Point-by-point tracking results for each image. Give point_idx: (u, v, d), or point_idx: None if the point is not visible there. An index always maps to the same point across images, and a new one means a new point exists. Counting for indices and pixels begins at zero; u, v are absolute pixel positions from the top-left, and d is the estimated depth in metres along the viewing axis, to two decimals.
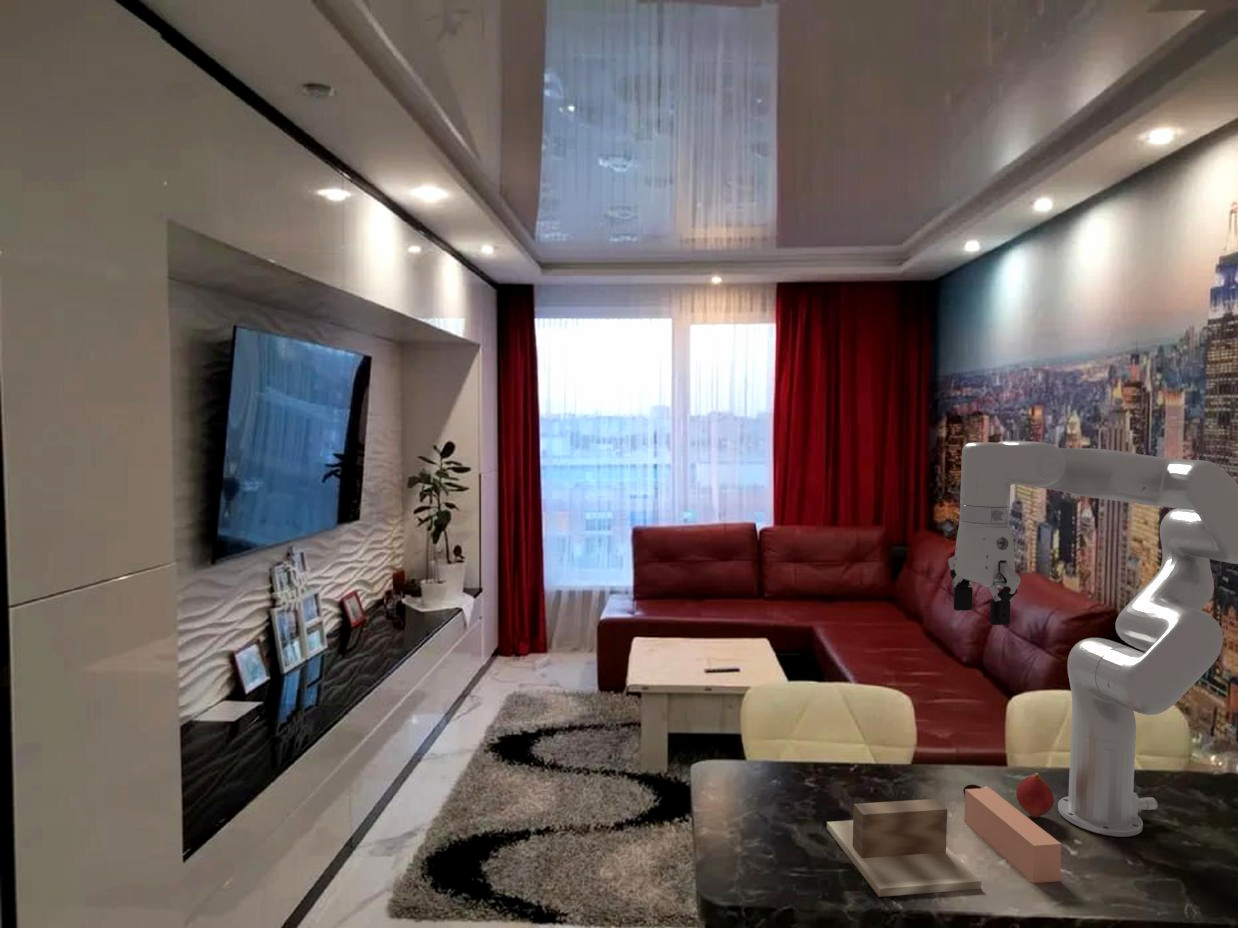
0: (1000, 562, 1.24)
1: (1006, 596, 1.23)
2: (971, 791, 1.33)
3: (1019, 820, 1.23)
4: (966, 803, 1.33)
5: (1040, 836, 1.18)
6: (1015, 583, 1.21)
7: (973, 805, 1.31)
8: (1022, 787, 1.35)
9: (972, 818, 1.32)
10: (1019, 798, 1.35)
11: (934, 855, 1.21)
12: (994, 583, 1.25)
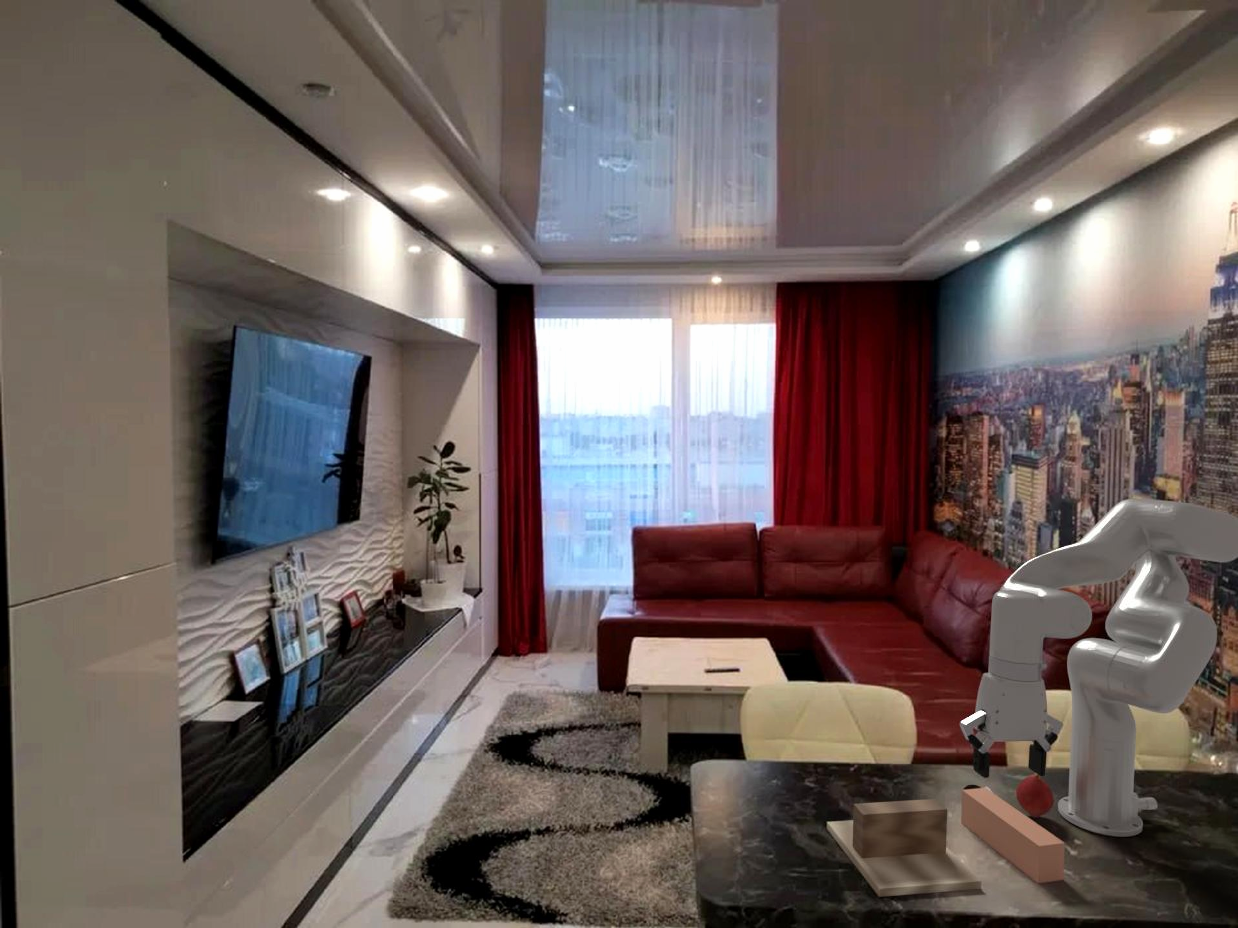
0: None
1: None
2: (968, 792, 1.33)
3: (1019, 820, 1.23)
4: (963, 804, 1.33)
5: (1043, 836, 1.19)
6: None
7: (971, 805, 1.31)
8: (1022, 787, 1.35)
9: (970, 818, 1.31)
10: (1019, 798, 1.35)
11: (934, 855, 1.21)
12: None
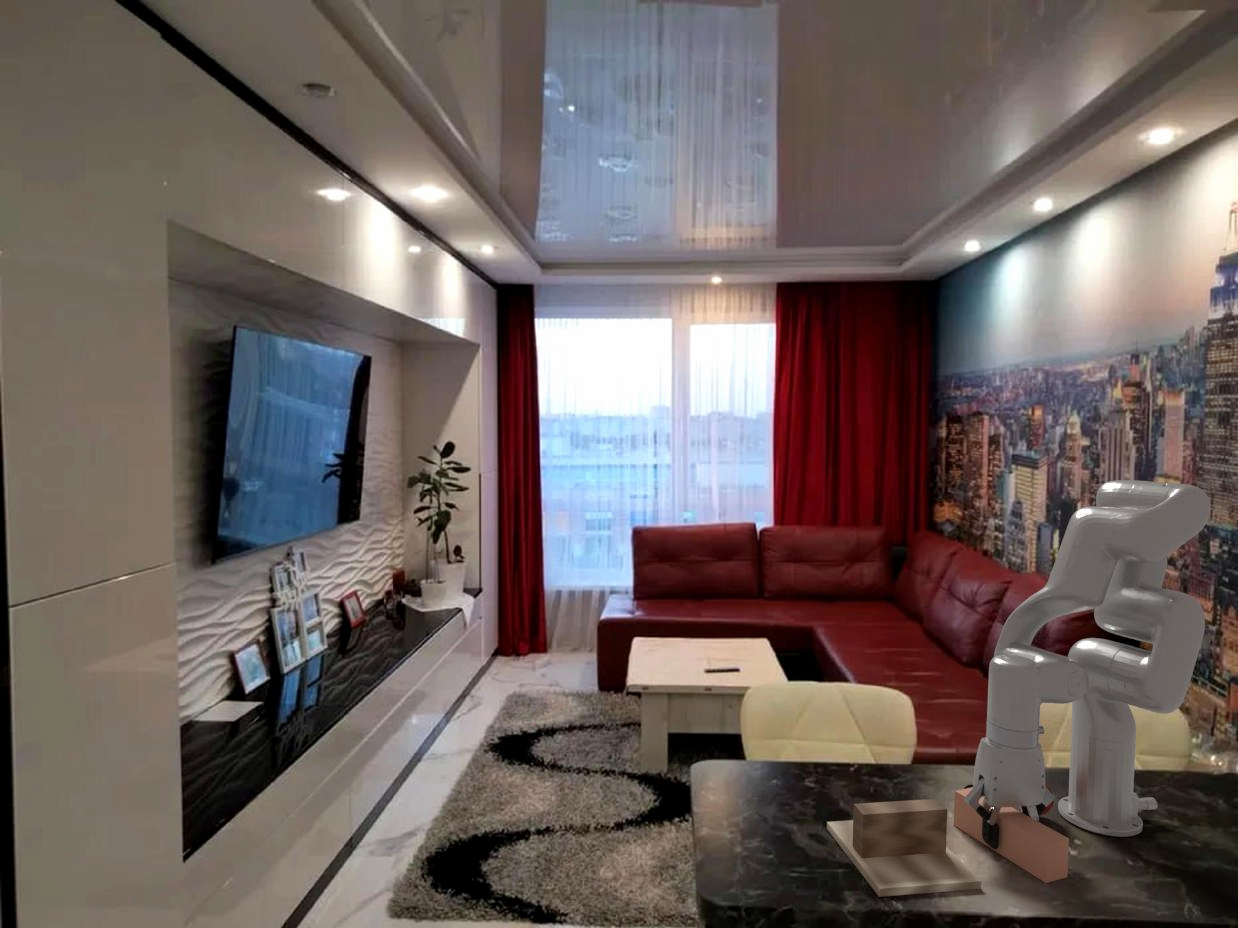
0: None
1: None
2: (961, 792, 1.32)
3: (1019, 818, 1.23)
4: (956, 805, 1.32)
5: (1047, 833, 1.19)
6: None
7: (965, 806, 1.30)
8: None
9: (964, 819, 1.31)
10: None
11: (934, 855, 1.21)
12: None
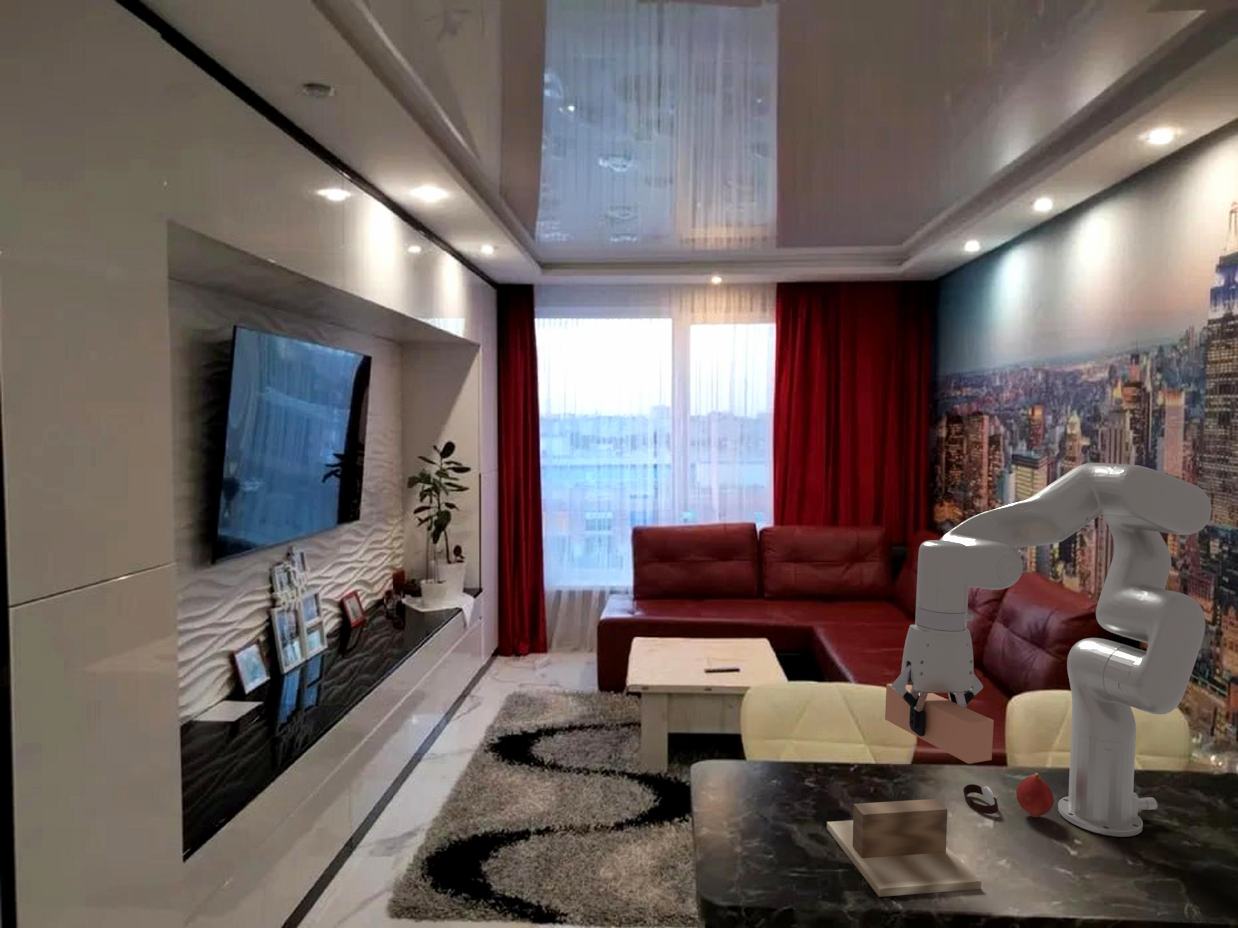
0: None
1: None
2: None
3: (947, 705, 1.20)
4: (887, 698, 1.29)
5: (972, 715, 1.16)
6: None
7: (896, 698, 1.28)
8: (1022, 787, 1.35)
9: (895, 712, 1.28)
10: (1019, 798, 1.35)
11: (934, 855, 1.21)
12: None
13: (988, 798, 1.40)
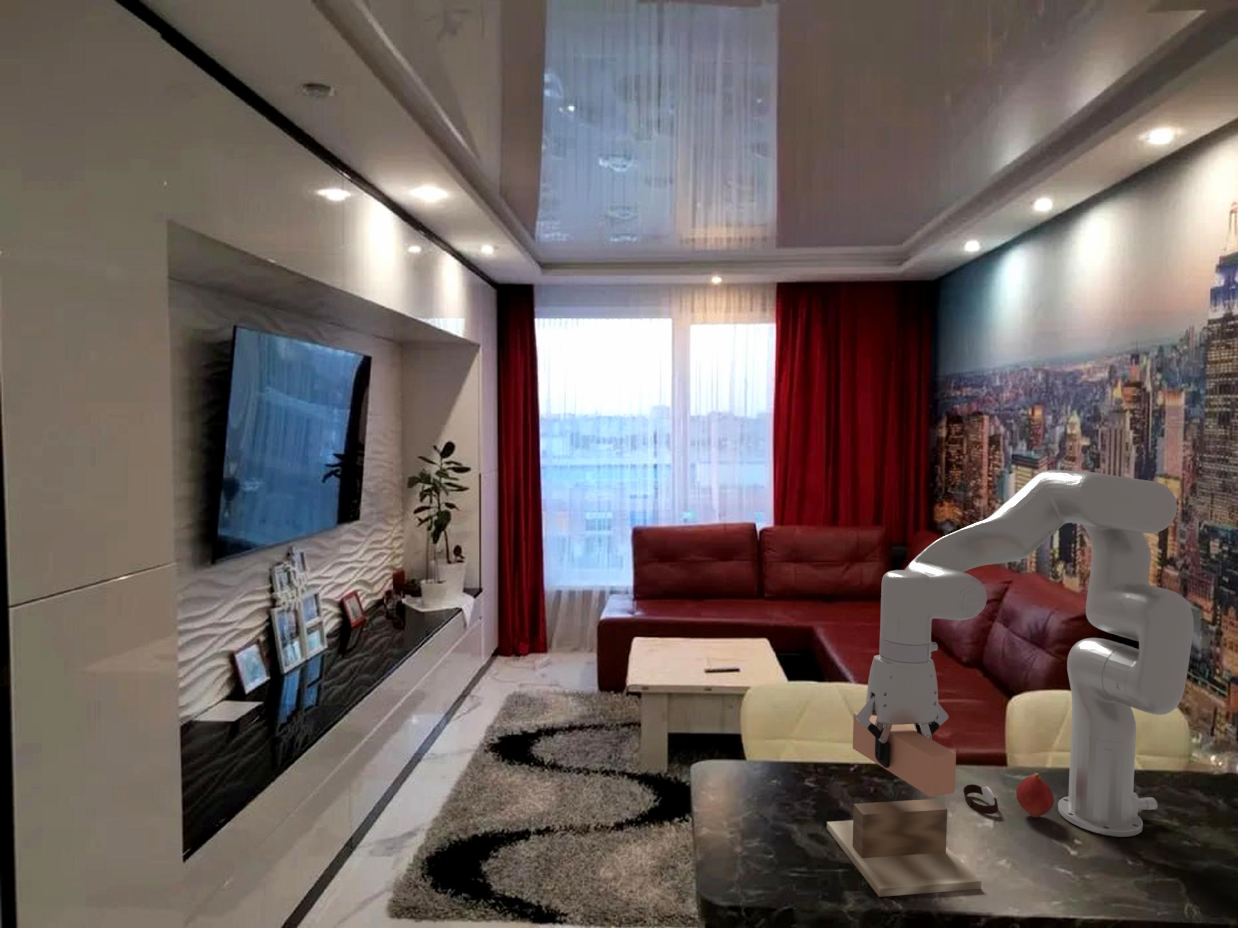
0: None
1: None
2: None
3: (911, 736, 1.20)
4: (855, 727, 1.29)
5: (935, 748, 1.16)
6: None
7: (862, 728, 1.27)
8: (1022, 787, 1.35)
9: (861, 741, 1.27)
10: (1019, 798, 1.35)
11: (934, 855, 1.21)
12: None
13: (988, 798, 1.40)
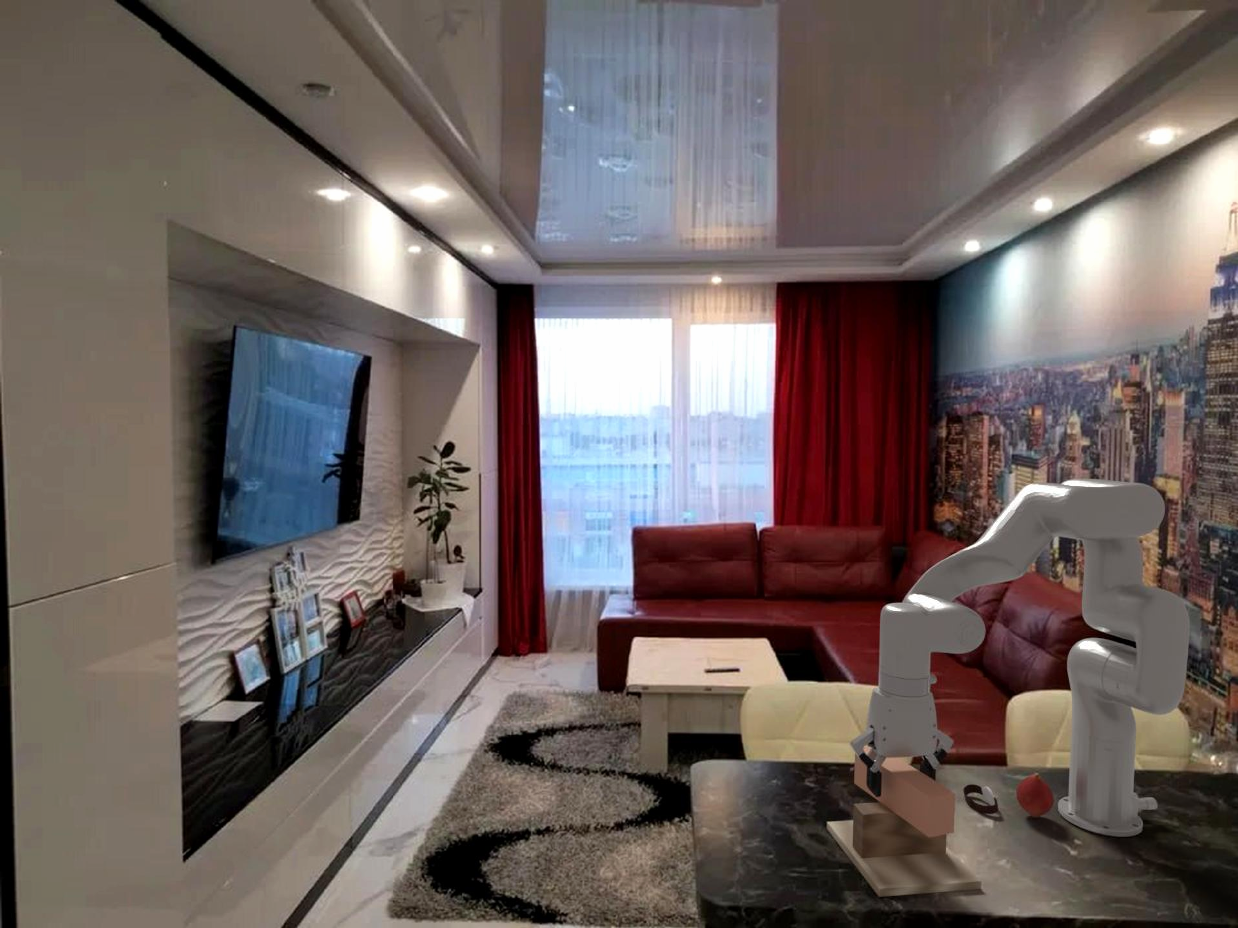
0: None
1: None
2: None
3: (911, 774, 1.20)
4: (856, 762, 1.30)
5: (934, 787, 1.16)
6: None
7: (863, 763, 1.28)
8: (1022, 787, 1.35)
9: (863, 777, 1.28)
10: (1019, 798, 1.35)
11: (934, 855, 1.21)
12: None
13: (988, 798, 1.40)
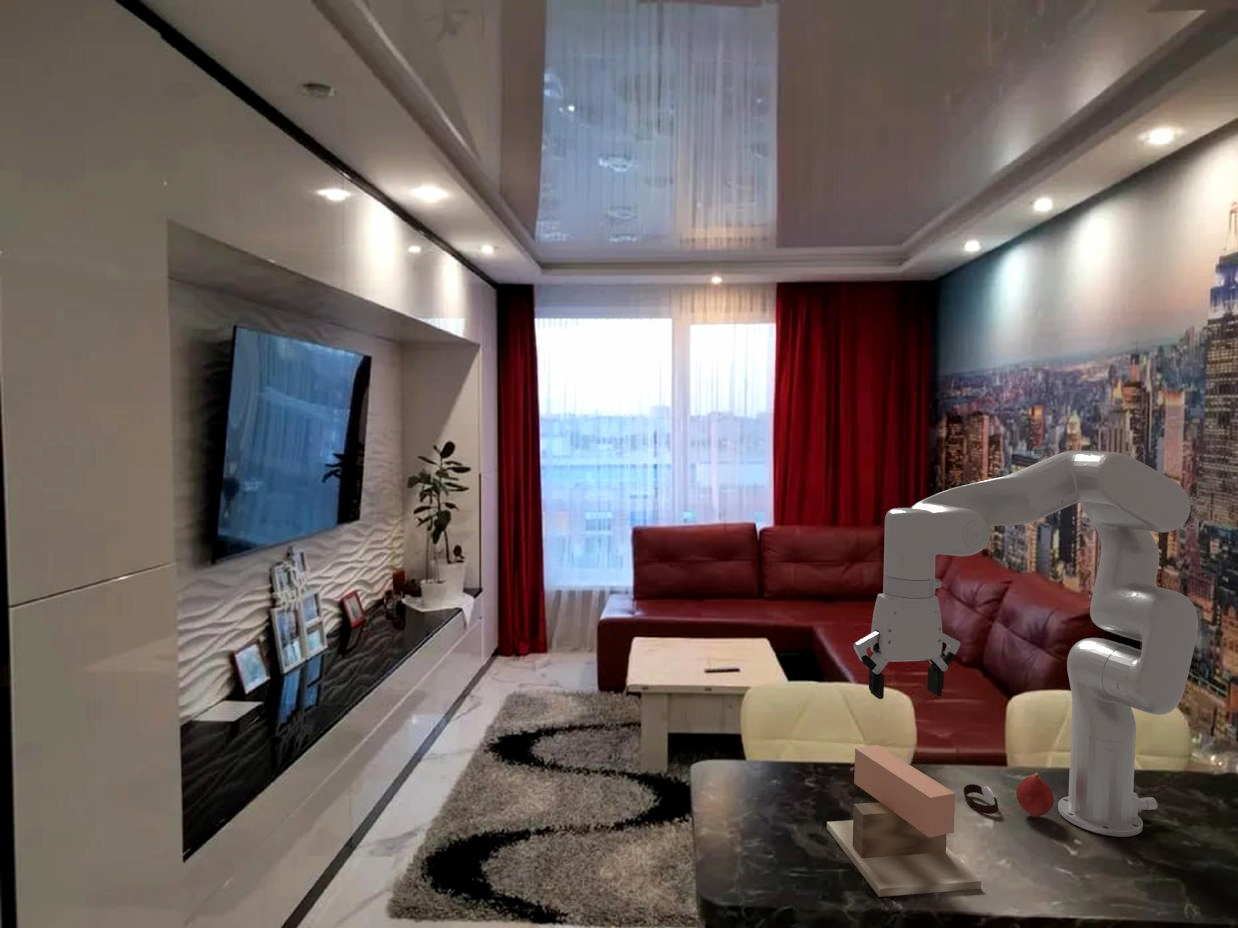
0: None
1: None
2: (861, 750, 1.29)
3: (911, 774, 1.20)
4: (856, 762, 1.30)
5: (934, 787, 1.16)
6: None
7: (863, 763, 1.28)
8: (1022, 787, 1.35)
9: (863, 777, 1.28)
10: (1019, 798, 1.35)
11: (934, 855, 1.21)
12: None
13: (988, 798, 1.40)
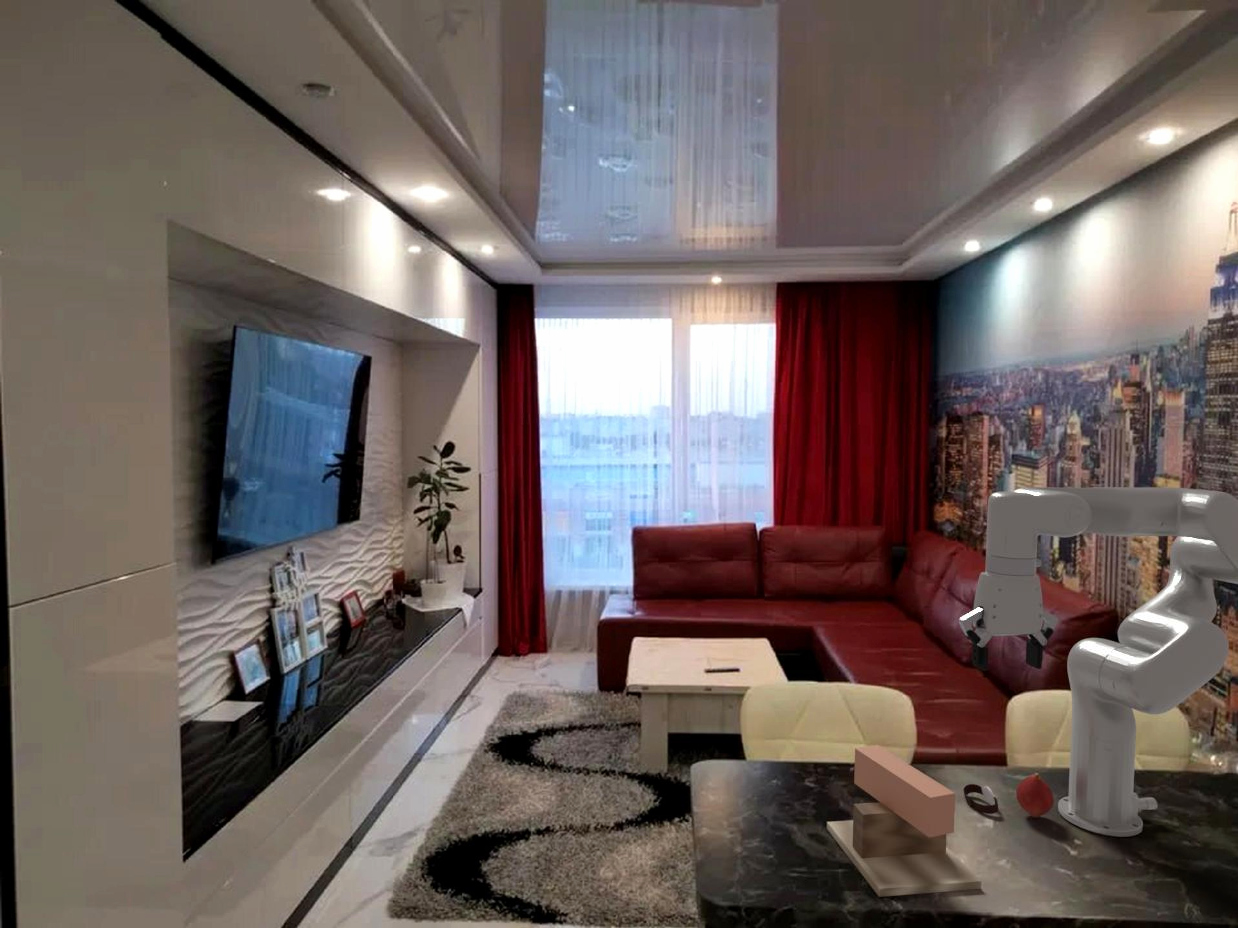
0: None
1: None
2: (861, 750, 1.29)
3: (911, 774, 1.20)
4: (856, 762, 1.30)
5: (934, 787, 1.16)
6: None
7: (863, 763, 1.28)
8: (1022, 787, 1.35)
9: (863, 777, 1.28)
10: (1019, 798, 1.35)
11: (934, 855, 1.21)
12: None
13: (988, 798, 1.40)
